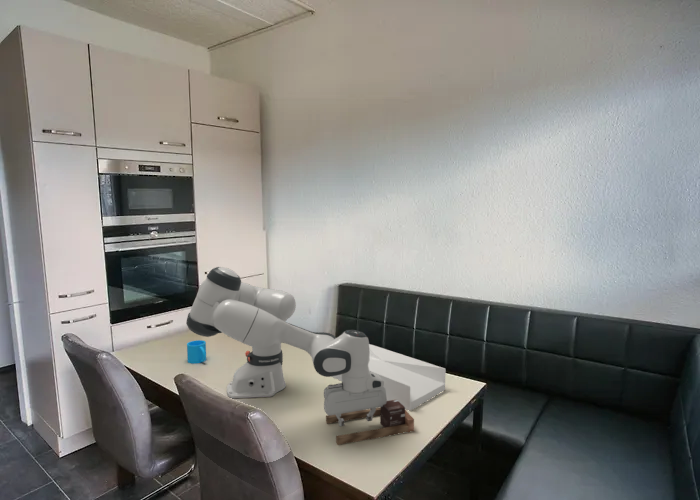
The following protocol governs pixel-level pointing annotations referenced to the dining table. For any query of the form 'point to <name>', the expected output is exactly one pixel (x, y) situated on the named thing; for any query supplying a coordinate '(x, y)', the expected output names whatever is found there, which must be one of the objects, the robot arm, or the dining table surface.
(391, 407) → the box
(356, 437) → the guide channel
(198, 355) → the mug
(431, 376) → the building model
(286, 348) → the dining table surface
